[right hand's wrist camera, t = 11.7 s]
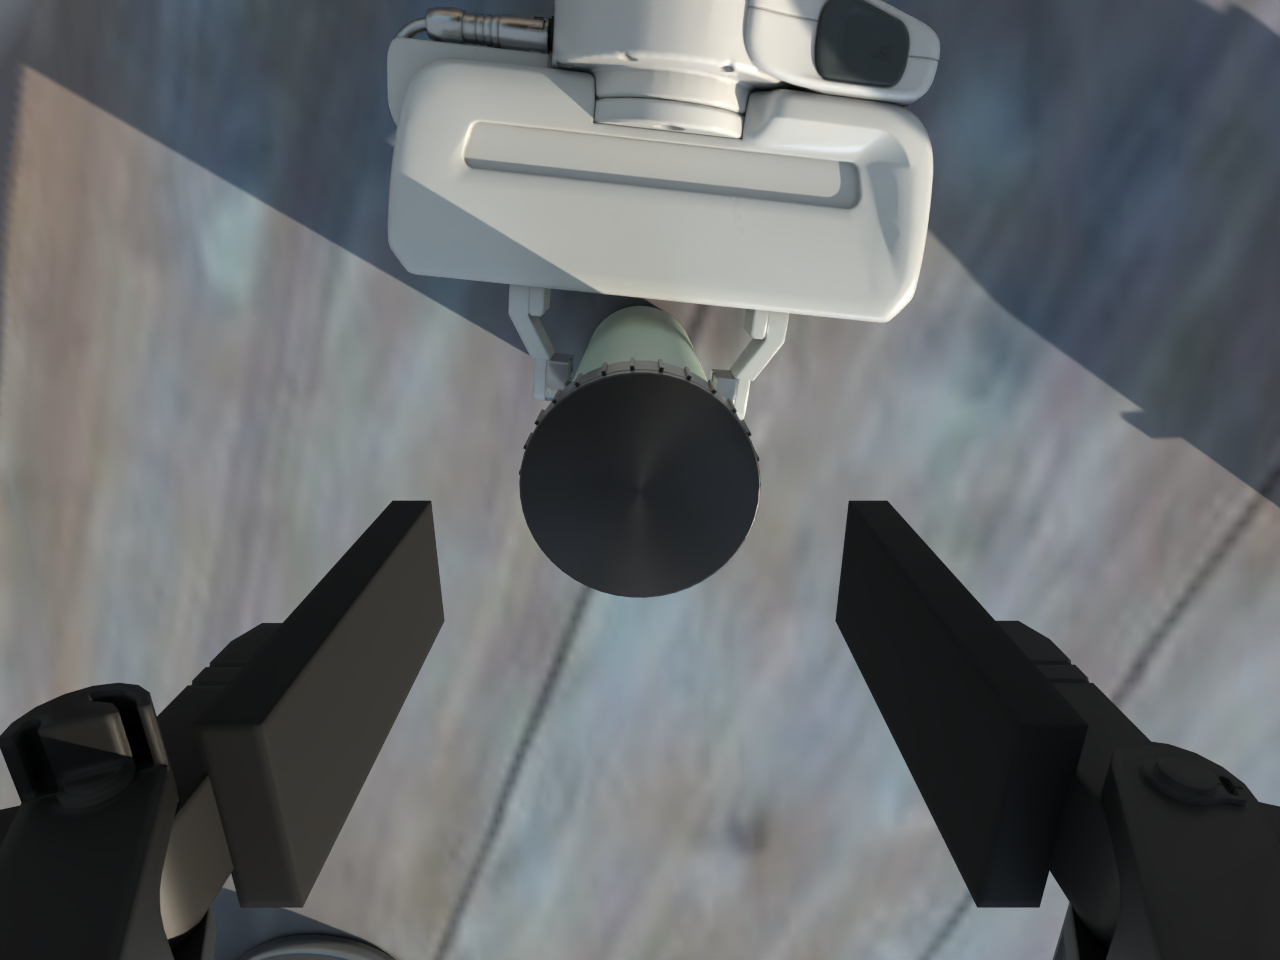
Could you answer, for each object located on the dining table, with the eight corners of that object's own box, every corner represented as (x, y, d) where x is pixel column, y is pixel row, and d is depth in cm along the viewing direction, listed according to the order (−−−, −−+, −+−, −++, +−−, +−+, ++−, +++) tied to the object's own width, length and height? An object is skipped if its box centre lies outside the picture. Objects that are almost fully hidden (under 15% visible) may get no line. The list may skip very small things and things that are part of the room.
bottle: (700, 401, 36) (754, 560, 19) (598, 419, 36) (561, 591, 19) (684, 296, 34) (728, 367, 17) (577, 316, 35) (515, 405, 17)
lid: (766, 552, 20) (776, 580, 19) (553, 586, 21) (546, 617, 19) (737, 337, 18) (747, 348, 17) (502, 379, 19) (489, 394, 17)
